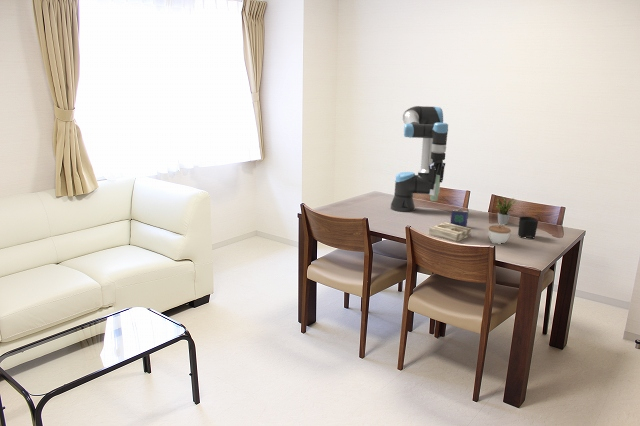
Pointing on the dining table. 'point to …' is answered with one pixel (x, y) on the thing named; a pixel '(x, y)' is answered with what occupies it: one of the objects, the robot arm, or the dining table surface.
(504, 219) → the house plant
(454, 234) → the socket board
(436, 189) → the dowel
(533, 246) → the dining table surface
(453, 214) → the blue green box
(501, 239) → the lidded jar
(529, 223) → the pen holder
